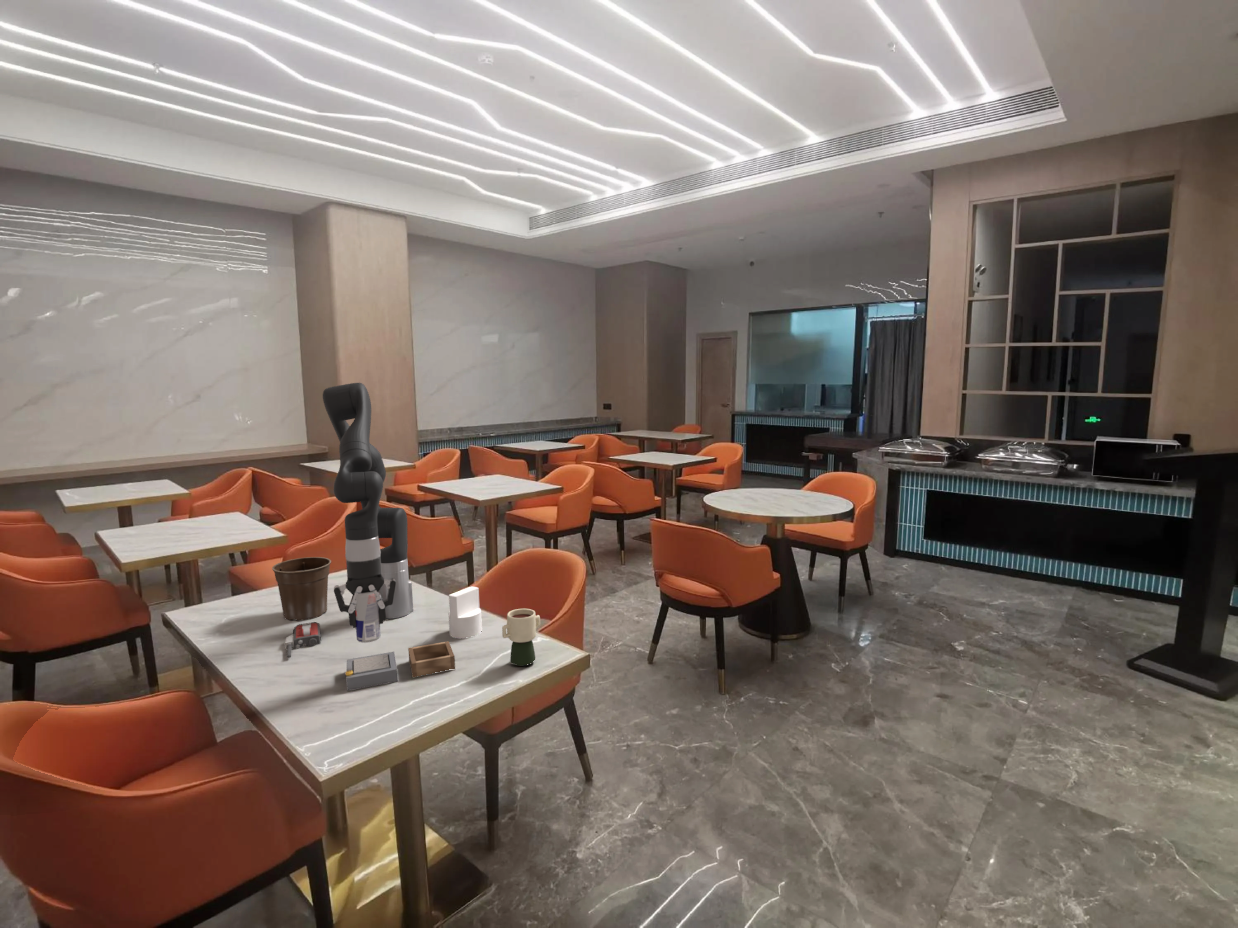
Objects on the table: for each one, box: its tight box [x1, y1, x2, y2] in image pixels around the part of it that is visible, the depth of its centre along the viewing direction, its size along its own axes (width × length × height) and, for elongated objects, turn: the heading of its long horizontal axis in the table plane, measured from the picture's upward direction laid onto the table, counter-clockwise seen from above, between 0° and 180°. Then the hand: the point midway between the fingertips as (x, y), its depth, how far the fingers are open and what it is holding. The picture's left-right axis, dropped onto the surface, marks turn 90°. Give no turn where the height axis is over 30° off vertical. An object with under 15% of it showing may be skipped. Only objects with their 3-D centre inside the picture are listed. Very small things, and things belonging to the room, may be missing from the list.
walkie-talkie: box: [284, 621, 322, 658], centre depth 169 cm, size 9×4×20 cm
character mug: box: [501, 608, 541, 667], centre depth 154 cm, size 11×7×13 cm, turn 131°
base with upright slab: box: [448, 586, 483, 639], centre depth 175 cm, size 9×9×12 cm
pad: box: [353, 654, 390, 675], centre depth 149 cm, size 8×8×2 cm
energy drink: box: [354, 591, 382, 644], centre depth 147 cm, size 5×5×12 cm
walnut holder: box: [407, 641, 456, 678], centre depth 154 cm, size 10×10×4 cm
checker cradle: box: [345, 651, 399, 692], centre depth 149 cm, size 11×11×4 cm
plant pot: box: [271, 556, 332, 622], centre depth 191 cm, size 16×16×16 cm
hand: (367, 624), depth 148 cm, fingers closed on energy drink, 5 cm apart
